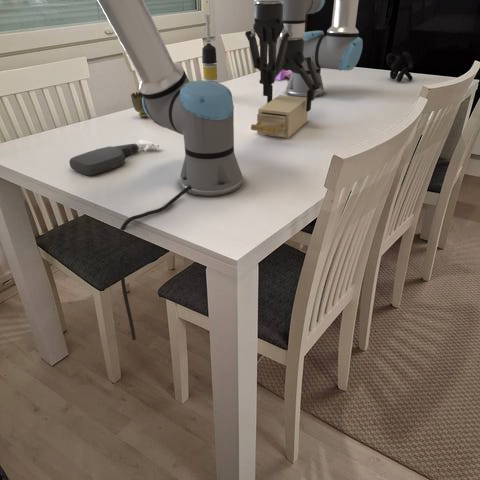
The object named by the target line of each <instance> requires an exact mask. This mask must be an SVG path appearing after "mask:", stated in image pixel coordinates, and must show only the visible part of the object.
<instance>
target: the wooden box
mask: <svg viewBox="0 0 480 480" xmlns="http://www.w3.org/2000/svg"><path fill="white" fill-rule="evenodd" d="M306 104H307V97H295V96H290V95H283V94H278V96H276V97H275V98H272V101H270V102H269V103H267V102H266V104H263V106H262V105H261V106H260V107H259V108H258V109H257V111H258V113H257V114H259V113H261V114H263V113H272V114H280V115H286V132H285V137H282V138H284V139H289V138H290V137H292V136H293V134H294V133H296V132H297V131H298V130H300V129H301V128H302V126H304V125H305V124H306V123H307V122H308V113H309V111H308V112H306ZM261 135H263V136H267V135H266V134H261ZM268 136H270V137H274V136H273V135H268ZM275 137H277V138H281V137H280V136H275Z"/></svg>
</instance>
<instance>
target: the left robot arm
mask: <svg viewBox="0 0 480 480" xmlns="http://www.w3.org/2000/svg"><path fill="white" fill-rule="evenodd" d="M96 1H97V2H98V4H99V6H100V8H101V10H102V12H103V13H104V15H105V17H106V19H107V20H108V22H109V24H110V26H111V28H112V29H113V32H114V33H115V35H116V37H117V39H118V40H119V43H120V44H121V46H122V48H123V49H124V51H125V53H126V56H127V57H128V59H129V60H130V62H131V64H132V66H133V68H134V69H135V71H136V73H137V75H138V77H139V78H140V83H139V86H138V89H139V92H141V94H142V95H143V98H142V105H143V108H144V111H145V113H146V114H147V116H148V117H147V118H149V119H150V120H151V121H152V122H153V123H155V124H156V125H157V126H160V127H162V128H164V129H168V130H170V131H173V132H175V133H177V134H178V135H179V134H180V135H182V136H183V143H184V154H185V155H184V158H183V164H182V168H181V171H180V177H179V178H180V179H179V183H180V184H179V185H180V188H181V189H182V190H181V191H179V192H178V193H177V194H176V195H175V196H174V197H173V198H171V199H169V201H167V203H165V204H164V205H163V206H161V207H159V208H155V209H152V210H148V211H146V212H143V213H140V214H136V215H132V216H130V217H129V218H127V219H125V220H124V222H123V223H122V225H121V227H120V228H119V230H120V231H124V230H125V229H126V227H128V225H129V224H130V223H131V222H132V221H136V220H139V219H142V218H145V217H148V216H151V215H155V214H158V213H161V212H163V211H165V210H166V209H169V207H171V205H172V204H174V203H175V202H177V200H178V199H180V198H181V197H182V196H183V195H184V194H186V193H187V194H190V195H194V196H199V197H221V196H224V195H229V194H232V193H234V192H235V191H237V190H239V189H240V188H241V187H242V185H243V174H242V171H241V168H240V165H239V163H238V160H237V157H236V154H235V129H234V128H235V126H234V123H235V121H234V118H235V117H234V114H235V113H234V112H235V110H234V109H235V105H234V101H233V94H232V91H231V90H230V89H229V87H227V86H226V85H224V84H222V83H220V82H218V81H215V82H208V80H193V81H192V80H191V81H190V80H189V77H188V75H187V73H186V71H185V69H184V67H183V66H182V65H180V64H177V63H174V61H173V58H172V57H171V55H170V52H169V50H168V48H167V45H166V44H165V42H164V39H163V38H162V36H161V34H160V32H159V30H158V29H159V28H157V25H156V23H155V21H154V19H153V16H152V14H151V12H150V11H149V8H148V6H147V4H146V2H145V0H96ZM255 1H256V2H257V3H256V4H253V5H254V6H253V7H254V8H253V14H254V15H253V16H254V22H253V25H252V28H251V29H249V30H246V31H245V33H244V34H245V37H246V39H247V40H248V44H249V49H250V55H251V60H252V64H253V68H254V69H256V70H259V72H260V74H259V75H260V79H259V81H261V83H263V84H262V96H263V97H267V96H269V95H271V94H272V95H273V93H272V85H273V84H274V83H275V82H276V79H275V71H276V70H279V69H280V68H282V64H283V60H284V56H285V52H286V48H287V44H288V41H289V39H290V38H291V36H292V33H291V32H288V31H287V30H285V29H284V25H283V21H282V20H283V5H282V3H281V1H282V0H255ZM281 33H282V35H281V37H280V34H281ZM256 36H257V38H258V40H259V41H258V40H257V38H256ZM279 37H280V39H281V38H282V40H281V43H280V47H279V46H278V52H277V44H278V38H279ZM257 41H258V42H257ZM276 55H277V59H276ZM268 62H269V68H268V67H267V64H268ZM266 69H268V70H267V71H266ZM217 82H218V83H217ZM118 263H119V277H120V284H121V291H122V296H123V299H124V300H123V301H124V305H125V309H126V313H127V318H128V322H129V328H130V332H131V333H130V334H131V338H132V339H131V340H132V341H135V340H137V338H136V332H135V326H134V321H133V316H132V311H131V307H130V303H129V298H128V293H127V287H126V286H127V285H126V279H125V272H124V271H125V268H124V267H125V266H124V257H121V256H119V257H118Z"/></svg>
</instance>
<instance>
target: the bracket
mask: <svg viewBox="0 0 480 480" xmlns="http://www.w3.org/2000/svg"><path fill="white" fill-rule="evenodd" d="M291 72H292V71H290V70H288V71H285V70H284V69H283V70H282V71H281V72H280V73H279V74H278V76H277V77H276V78H275V81H276V80H277V81H281V80H286V78H285V76H286V77H289V78H290V76H291Z"/></svg>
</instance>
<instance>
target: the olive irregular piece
mask: <svg viewBox="0 0 480 480" xmlns="http://www.w3.org/2000/svg"><path fill="white" fill-rule="evenodd" d="M130 98H131V103H132V106H133V109H134V111H136V112H137V113H138V116H139V117H140V118H149V117H148V116H147V114H146V113H145V111H144V108H143V105H142V98H143V95H142V94H141V92H140V91H138V92H137V91H135V92H133V93H131V94H130Z"/></svg>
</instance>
